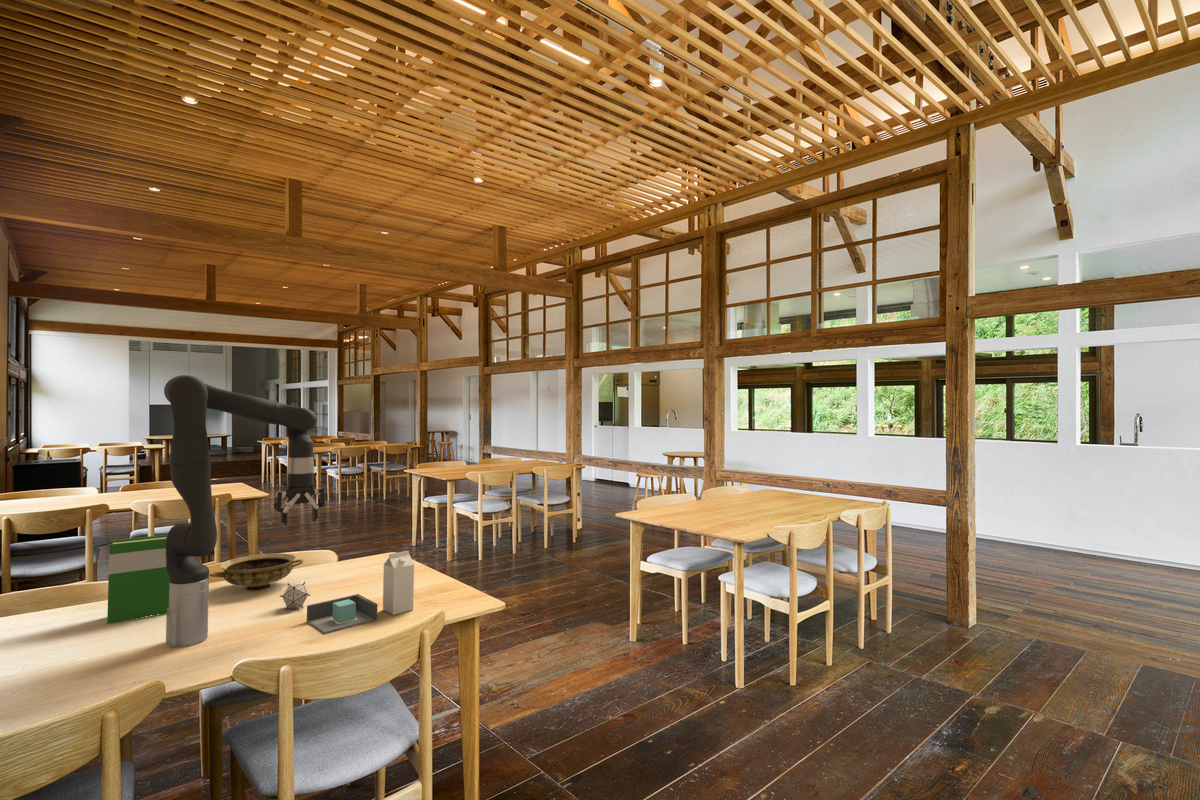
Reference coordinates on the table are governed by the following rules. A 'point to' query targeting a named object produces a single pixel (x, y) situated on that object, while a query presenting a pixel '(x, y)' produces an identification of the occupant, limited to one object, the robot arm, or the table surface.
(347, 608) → the cube
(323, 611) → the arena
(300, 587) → the game die
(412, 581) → the milk carton
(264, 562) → the ceramic bowl
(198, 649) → the table surface
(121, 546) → the hardback book
